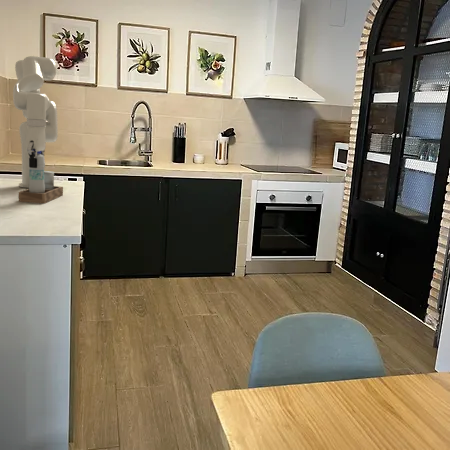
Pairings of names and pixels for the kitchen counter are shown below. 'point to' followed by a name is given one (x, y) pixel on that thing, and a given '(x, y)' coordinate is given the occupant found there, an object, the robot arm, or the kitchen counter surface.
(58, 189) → the wooden divided box
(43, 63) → the robot arm
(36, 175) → the bottle
